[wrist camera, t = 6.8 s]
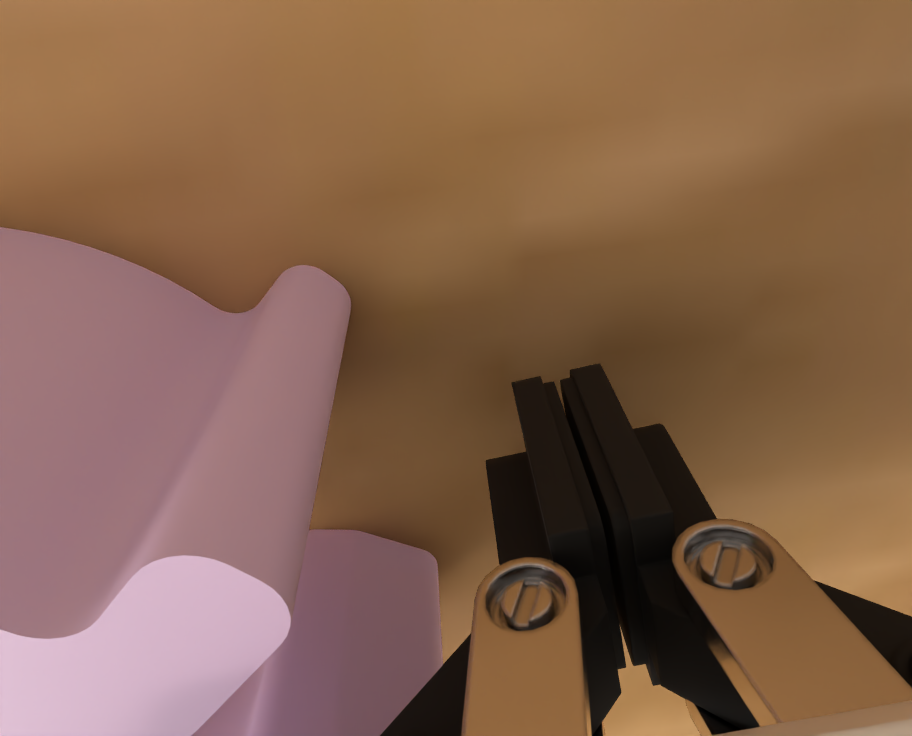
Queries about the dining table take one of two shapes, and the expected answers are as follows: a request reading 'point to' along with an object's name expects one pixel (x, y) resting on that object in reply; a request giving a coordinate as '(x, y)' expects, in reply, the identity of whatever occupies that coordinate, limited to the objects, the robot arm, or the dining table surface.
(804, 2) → the dining table surface
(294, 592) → the clip
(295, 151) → the dining table surface
